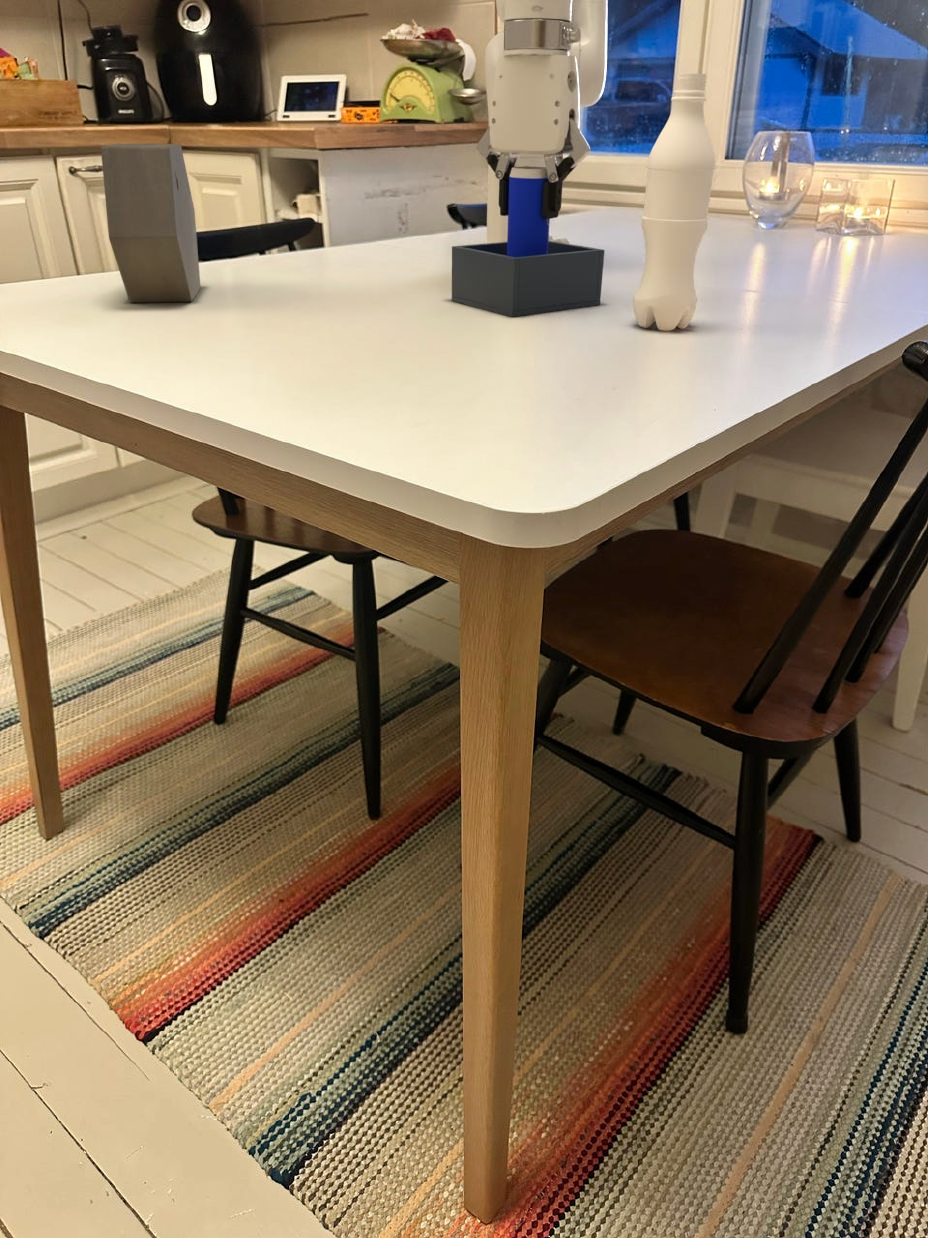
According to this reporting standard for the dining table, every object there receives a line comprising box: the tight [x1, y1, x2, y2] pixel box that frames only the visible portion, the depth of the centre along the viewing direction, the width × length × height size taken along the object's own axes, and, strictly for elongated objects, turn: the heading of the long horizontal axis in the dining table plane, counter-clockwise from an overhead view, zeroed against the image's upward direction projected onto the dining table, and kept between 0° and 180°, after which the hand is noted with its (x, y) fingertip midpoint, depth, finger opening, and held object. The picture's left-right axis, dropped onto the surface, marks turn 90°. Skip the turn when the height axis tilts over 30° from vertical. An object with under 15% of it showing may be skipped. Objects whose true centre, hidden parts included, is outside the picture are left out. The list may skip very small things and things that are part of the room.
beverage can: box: [507, 167, 551, 257], centre depth 111 cm, size 5×5×15 cm
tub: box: [451, 241, 605, 318], centre depth 113 cm, size 15×13×7 cm
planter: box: [100, 143, 201, 304], centre depth 111 cm, size 17×8×21 cm
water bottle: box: [632, 73, 716, 332], centre depth 97 cm, size 7×7×25 cm
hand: (529, 214), depth 110 cm, fingers closed on beverage can, 5 cm apart
